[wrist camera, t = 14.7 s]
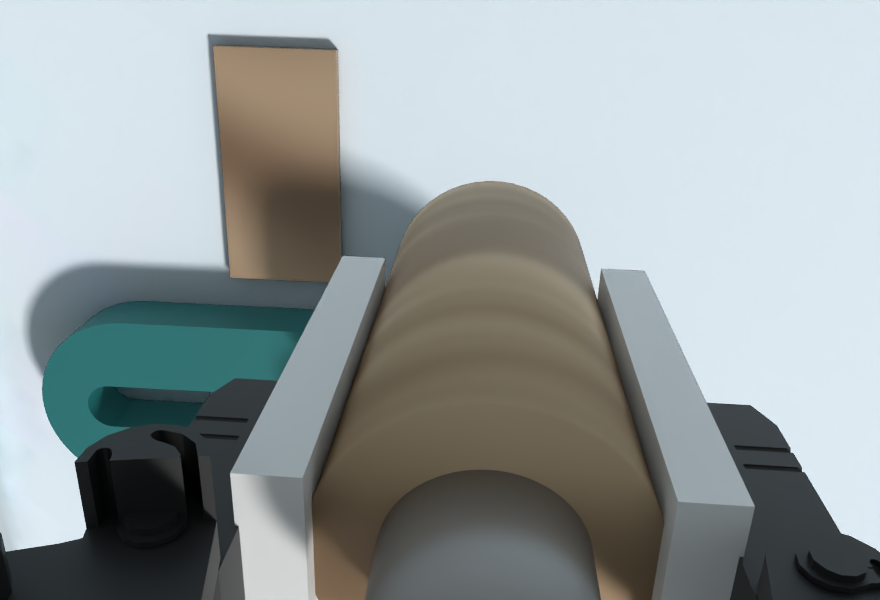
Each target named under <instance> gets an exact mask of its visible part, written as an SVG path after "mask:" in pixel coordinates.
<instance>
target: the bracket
mask: <svg viewBox="0 0 880 600" xmlns="http://www.w3.org/2000/svg"><path fill="white" fill-rule="evenodd" d="M314 310H315V309H296V308H275V307H254V306H233V305H212V304H191V303H170V302H149V301H134V302H126V303H121V304H117V305H114V306H111V307H108V308H106V309H104V310H102V311H100V312H99V313H97V314H96V315H94V316H93V317H92V318H91V319H90V320H88V321H87V322H86V323H85V324H84V325H83V326H81V327H80V328H79V329H78V330H77V331H76V332H74V333H73V334H72V335H71V336H70V337H69V338H67V339H66V340H65V341H64V342H63V343H62V344H61V345H60V346H59V347H58V348H57V349H56V350H55V352H54V353H53V355H52V356H51V358H50V360H49V362H48V364H47V366H46V369H45V372H44V377H43V385H42V394H43V402H44V407H45V410H46V414H47V417H48V419H49V421H50V424H51V426H52V427H53V429H54V431H55V433H56V434H57V436H58V437H59V438H60V440H61V441H62V442H63V444H64V445H65V446H66V447H67V448H68V449H69V450H70V451H71V452H72V453H73V454H74V455H75V456H76V457H77V458H79V456H80V455H81V454H82V453H83V452H84V450H85V449H86V448H87V447H89V446H90V445H92V444H94V443H95V442H97V441H99V440H100V439H102V438H104V437H105V436H107V435H110V434H113V433H116V432H119V431H122V430H125V429H128V428H131V427H138V426H145V425H152V424H165V425H179V426H182V427H185V428H188V427H189V425H190V424H191V422H192V421H193V420H195V419H196V414H197V413H198V411H199V410H200V408H201V407H202V405H203V404H204V403H191V402H173V401H154V400H136V399H130V398H128V397H125V396H124V395H122V394H121V393H120V392H119V391H118V390H117V389H116V387H129V388H148V389H167V390H186V391H204V392H215V391H216V390H218V389H219V388H221V387H222V386H224V385H225V384H227V383H228V382H230V381H231V380H233V379H234V378H240V379H258V380H275V381H278V380H279V378H280V376H281V374H282V372H283V370H284V368H285V366H286V364H287V363H288V361H289V359H290V357H291V355H292V353H293V351H294V349H295V347H296V345H297V343H298V341H299V339H300V337H301V336H302V334H303V332H304V330H305V328H306V326H307V324H308V322H309V320H310V318H311V316H312V314H313V312H314Z"/></svg>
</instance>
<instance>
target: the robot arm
mask: <svg viewBox="0 0 880 600" xmlns="http://www.w3.org/2000/svg"><path fill="white" fill-rule="evenodd" d="M384 291H385V258H376V257H356V256H342V258H341V260H340V262H339V264H338V266H337V268H336V270H335V272H334V274H333V276H332V278H331V280H330V282H329V283H328V285H327V287H326V289H325V291H324V293H323V295H322V297H321V299H320V301H319V303H318V305H317V307H316V309H315V310H314V312H313V314H312V316H311V318H310V320H309V322H308V324H307V326H306V328H305V330H304V332H303V334H302V336H301V337H300V339H299V341H298V343H297V345H296V347H295V349H294V351H293V353H292V355H291V357H290V359H289V361H288V363H287V364H286V366H285V368H284V370H283V372H282V374H281V376H280V378H279V380H278V381H275V380H258V379H240V378H234V379H233V380H231V381H230V382H228V383H227V384H225V385H224V386H222V387H221V388H219V389H218V390H216V391H215V392H213V393H212V394H210V395H209V396H208V398H207V399H206V401H205V402H204V404H203V405H202V407H201V408H200V410H199V411H198V413H197V414H196V419H195V420H193V421H192V422H191V424H190V425H189V427H188V428H185V427H182V426H179V425H165V424H152V425H145V426H138V427H131V428H128V429H125V430H122V431H119V432H116V433H113V434H110V435H107V436H105V437H104V438H102V439H100V440H99V441H97V442H95V443H94V444H92V445H90V446H89V447H87V448H86V449H85V450H84V452H83V453H82V454H81V455H80V456H79V458H78V459H77V460H76V461H75V467H76V473H77V478H78V484H79V489H80V495H81V500H82V506H83V511H84V517H85V522H86V528H87V529H86V531H85V534H84V536H83V538H81V539H78V540H73V541H69V542H64V543H60V544H54V545H47V546H41V547H34V548H28V549H21V550H15V551H9V552H5V547H4V543H3V539H2V534H1V533H0V600H318V598H317V597H316V595H315V575H314V551H313V526H312V500H313V497H314V494H315V491H316V488H317V485H318V482H319V479H320V476H321V474H322V471H323V468H324V465H325V462H326V459H327V456H328V453H329V450H330V447H331V444H332V442H333V439H334V436H335V433H336V430H337V427H338V424H339V421H340V418H341V415H342V413H343V410H344V407H345V404H346V401H347V398H348V395H349V392H350V389H351V386H352V383H353V381H354V378H355V375H356V372H357V369H358V366H359V363H360V360H361V357H362V354H363V352H364V349H365V346H366V343H367V340H368V337H369V334H370V331H371V328H372V325H373V323H374V320H375V317H376V314H377V311H378V308H379V305H380V302H381V299H382V296H383V293H384ZM598 304H599V308H600V311H601V314H602V317H603V321H604V324H605V327H606V331H607V334H608V337H609V341H610V344H611V347H612V351H613V354H614V357H615V361H616V364H617V367H618V371H619V374H620V377H621V380H622V384H623V387H624V390H625V394H626V397H627V400H628V404H629V407H630V410H631V414H632V417H633V420H634V424H635V427H636V430H637V434H638V437H639V440H640V443H641V447H642V450H643V453H644V457H645V460H646V463H647V467H648V470H649V473H650V477H651V480H652V483H653V487H654V490H655V493H656V496H657V500H658V503H659V506H660V510H661V513H662V516H663V520H664V528H663V534H662V540H661V546H660V552H659V558H658V564H657V570H656V576H655V582H654V588H653V594H652V599H651V600H880V552H878V551H877V550H876V549H874V548H873V547H871V546H869V545H867V544H865V543H863V542H861V541H859V540H857V539H855V538H853V537H851V536H848V535H845V534H841V533H840V531H839V529H838V528H837V526H836V524H835V522H834V521H833V519H832V517H831V516H830V514H829V512H828V511H827V509H826V507H825V506H824V504H823V502H822V501H821V499H820V497H819V496H818V494H817V492H816V491H815V489H814V487H813V485H812V484H811V482H810V480H809V479H808V477H807V475H806V474H805V472H802V467H801V465H800V464H799V462H798V460H797V459H796V457H795V455H794V454H793V453H790V447H789V445H788V443H787V442H786V440H785V438H784V437H783V435H782V433H781V432H780V430H779V428H778V427H777V425H775V424H774V423H773V422H771V421H770V420H769V419H768V418H766V417H765V416H764V415H762V414H761V413H760V412H758V411H757V410H756V409H755V408H753V407H752V406H751V405H736V404H718V403H706V401H705V399H704V396H703V394H702V392H701V390H700V388H699V386H698V384H697V381H696V379H695V377H694V375H693V373H692V371H691V369H690V367H689V364H688V362H687V360H686V358H685V356H684V354H683V352H682V349H681V347H680V345H679V343H678V341H677V339H676V337H675V334H674V332H673V330H672V328H671V326H670V324H669V322H668V319H667V317H666V315H665V313H664V311H663V309H662V307H661V304H660V302H659V300H658V298H657V296H656V294H655V292H654V289H653V287H652V285H651V283H650V281H649V279H648V277H647V275H646V272H645V271H638V270H618V269H601V275H600V284H599V292H598Z"/></svg>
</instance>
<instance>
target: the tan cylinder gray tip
mask: <svg viewBox="0 0 880 600" xmlns="http://www.w3.org/2000/svg"><path fill="white" fill-rule="evenodd" d="M312 526H313V551H314V575H315V595H316V597H317V598H318V600H651V599H652V594H653V588H654V582H655V576H656V570H657V564H658V558H659V552H660V546H661V540H662V534H663V528H664V520H663V516H662V513H661V510H660V506H659V503H658V500H657V496H656V493H655V490H654V487H653V483H652V480H651V477H650V473H649V470H648V467H647V463H646V460H645V457H644V453H643V450H642V447H641V443H640V440H639V437H638V434H637V430H636V427H635V424H634V420H633V417H632V414H631V410H630V407H629V404H628V400H627V397H626V394H625V390H624V387H623V384H622V380H621V377H620V374H619V371H618V367H617V364H616V361H615V357H614V354H613V351H612V347H611V344H610V341H609V337H608V334H607V331H606V327H605V324H604V321H603V317H602V314H601V311H600V308H599V304H598V301H597V298H596V294H595V291H594V288H593V284H592V281H591V278H590V274H589V271H588V268H587V264H586V261H585V258H584V255H583V251H582V248H581V245H580V242H579V239H578V236H577V234H576V232H575V230H574V228H573V226H572V225H571V223H570V222H569V221H568V219H567V218H566V216H565V215H564V214H563V213H562V212H561V211H560V210H559V209H558V208H557V207H556V206H555V205H554V204H553V203H552V202H550V201H549V200H548V199H546V198H545V197H543V196H542V195H540V194H538V193H537V192H534V191H532V190H530V189H528V188H526V187H522V186H519V185H516V184H512V183H506V182H497V181H484V182H474V183H469V184H465V185H461V186H459V187H456V188H453V189H450V190H448V191H447V192H445V193H443V194H441V195H439V196H438V197H436V198H435V199H433V200H432V201H430V202H429V203H428V204H427V205H426V206H425V207H424V208H422V209H421V210H420V212H419V213H418V214H417V215H416V216H415V217H414V219H413V220H412V222H411V223H410V225H409V226H408V228H407V230H406V232H405V234H404V236H403V239H402V241H401V244H400V247H399V250H398V253H397V255H396V258H395V261H394V264H393V267H392V270H391V273H390V276H389V279H388V282H387V285H386V287H385V291H384V293H383V296H382V299H381V302H380V305H379V308H378V311H377V314H376V317H375V320H374V323H373V325H372V328H371V331H370V334H369V337H368V340H367V343H366V346H365V349H364V352H363V354H362V357H361V360H360V363H359V366H358V369H357V372H356V375H355V378H354V381H353V383H352V386H351V389H350V392H349V395H348V398H347V401H346V404H345V407H344V410H343V413H342V415H341V418H340V421H339V424H338V427H337V430H336V433H335V436H334V439H333V442H332V444H331V447H330V450H329V453H328V456H327V459H326V462H325V465H324V468H323V471H322V474H321V476H320V479H319V482H318V485H317V488H316V491H315V494H314V497H313V500H312Z"/></svg>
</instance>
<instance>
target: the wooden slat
mask: <svg viewBox="0 0 880 600" xmlns="http://www.w3.org/2000/svg"><path fill="white" fill-rule="evenodd" d="M213 52H214V65H215V79H216V92H217V105H218V119H219V132H220V146H221V159H222V172H223V186H224V199H225V213H226V226H227V239H228V253H229V266H230V278H247V279H268V280H288V281H309V282H330V280H331V278H332V276H333V274H334V272H335V270H336V268H337V266H338V264H339V262H340V260H341V258H342V245H341V190H340V135H339V80H338V50H334V49H306V48H278V47H251V46H223V45H216V46H213Z"/></svg>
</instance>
